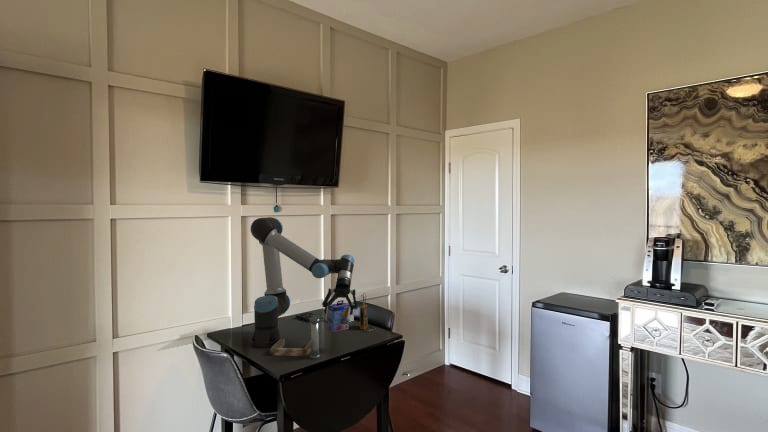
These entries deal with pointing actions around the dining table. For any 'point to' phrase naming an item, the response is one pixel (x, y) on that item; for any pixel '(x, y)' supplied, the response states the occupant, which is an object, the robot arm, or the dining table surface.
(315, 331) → the bobbin post
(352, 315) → the cup
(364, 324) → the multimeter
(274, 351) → the notched board
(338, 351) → the dining table surface
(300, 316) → the disk drive
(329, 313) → the ink cartridge box
